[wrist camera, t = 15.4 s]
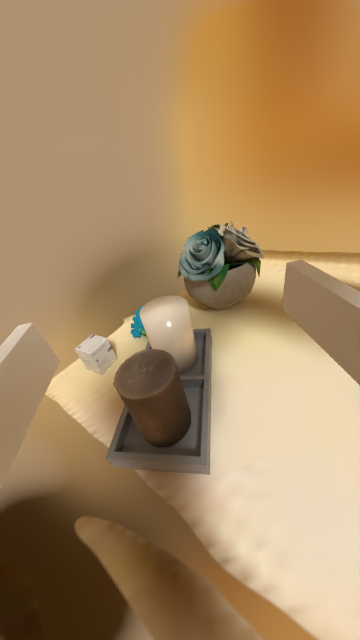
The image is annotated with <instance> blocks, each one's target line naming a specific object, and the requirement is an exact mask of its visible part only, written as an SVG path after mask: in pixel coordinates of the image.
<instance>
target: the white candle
mask: <svg viewBox="0 0 360 640" xmlns="http://www.w3.org/2000/svg"><path fill="white" fill-rule="evenodd" d="M139 314H140V318H141V321H142V323H143V326H144V329H145V332H146V334H147V337H148V340H149V343H150V346H151V348H152V349H159V350H164V351H166V352H168V353H170V354H171V355H172V356H173V357H174V359H175V362H176V365H177V368H178V371H179V375H183V374H186V373H188V372H189V371H191V370H192V369H193V368H194V367H195V366H196V364H197V362H198V353H197V348H196V343H195V338H194V333H193V327H192V322H191V317H190V312H189V307H188V302H187V300H186V299H185V298H183V297H181V296H176V295H167V296H162V297H158V298H155V299H153V300H151V301H149V302H148V303H146V304H145V305H144V306H143V307H142V308H141V310H140V313H139Z"/></svg>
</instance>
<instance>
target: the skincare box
mask: <svg viewBox="0 0 360 640" xmlns="http://www.w3.org/2000/svg"><path fill="white" fill-rule="evenodd" d="M75 351H76V352H77V354H78V355H79V357H80V359H81V360H82V362H83V363H84V365H85V367H86V368H87V369H89V370H91V371H94V372H96V373H99V374H103V373H104V372H105V371H106V370H107V369H108V368H109V367H110V366H111V365H112V364H113V363H114V362H115V361H116V360H117V357H116V355H115V353H114V351H113V349H112V347H111V345H110V343H109V341H108V339H107V338H104V337H100V336H97V335H91V336H90V337H89V338H88V339H86V340H85V341H83V342H82V343H81V344H80V345H79V346H78V347H77V348H75Z"/></svg>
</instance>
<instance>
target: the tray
mask: <svg viewBox="0 0 360 640" xmlns="http://www.w3.org/2000/svg"><path fill="white" fill-rule="evenodd" d="M193 333H194V338H195V343H196V348H197V353H198V362H197V364H196V366H195V367H194V368H193V369H192V370H191V371H189V372H188V373H186V374H183V375H180V378H181V382H182V385H183V388H184V391H185V394H186V398H187V401H188V405H189V408H190V411H191V425H190V428H189V430H188V432H187V434H186V435H185V436H184V437H183V439H181V440H180V441H179V442H177V443H176V444H174V445H171V446H167V447H157V446H154V445H152V444H150V443H149V442H147V441H146V439H145V438H144V437H143V435H142V434H141V432H140V430H139V428H138V427H137V425H136V423H135V421H134V419H133V418H132V416H131V415H130V413H129V411H128V409H127V407H126V406H125V407H124V409H123V412H122V415H121V418H120V420H119V423H118V426H117V429H116V431H115V434H114V437H113V440H112V442H111V445H110V448H109V451H108V453H107V456H106V459H107V460H108V461H109V462H110V463H111V464H112V466H113V467H120V468H132V469H145V470H158V471H171V472H184V473H197V474H210V420H211V350H212V338H211V330H210V329H196V330H193ZM150 349H152V348H151V346H150V343H149V341H148V343H147V346H146V349H145V350H150Z"/></svg>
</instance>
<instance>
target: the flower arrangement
mask: <svg viewBox="0 0 360 640" xmlns="http://www.w3.org/2000/svg"><path fill="white" fill-rule="evenodd" d="M227 225H228V223H226V224H225V225H222V224H220V225H214V226H212V225H211V227H210V228H209V227H208V228H209V229H208V230H207V231H205V232H204V231H203V230H202V231H200V232H198V233H196V234H194V235H192V236H191V237H189V238H188V240H187V241H186V243H185V246H184V250H183V252H182V253H181V254H180V255H181V256H180V261H179V272H178V277H179V276H180V275H181V274H182V275H183V276H184V282H185V286H186V290H187V291H188V293H189V295H190V296H191V297H192V298H193V299H194V300H195V301H196V302H199V303H201V304H204V305H207V306H210V307H211V308H213V309H218V310H222V309H227V308H229V307H231V306H232V305H233V304H234V303H237V302H239V301H240V300H242V299H243V298H245V297H246V296H247V295H248V294H249V293H250V292H251V290H252V287H253V285H254V282H255V278H256V268H257V272H258V275H259V274H260V264H261V261H260V259H259V258H264V257H263V255H262V254H261V253H264V254H265V252H264V251H263V250H261V249H259V246H258V244H257V243H255V242H254V241H252V240H251V239H249V238H250V237H248V236H246V235H247V234H248V231H247V228H246V227H244V228H242V229H243V231H242V229H240V230H237V229H235V228H234V227H233V223H232V222H230V226H229V227H228V228H227ZM260 254H261V255H260Z"/></svg>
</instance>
